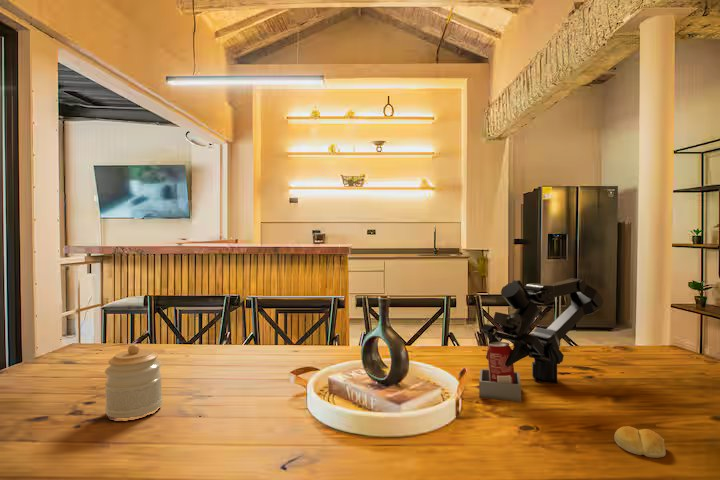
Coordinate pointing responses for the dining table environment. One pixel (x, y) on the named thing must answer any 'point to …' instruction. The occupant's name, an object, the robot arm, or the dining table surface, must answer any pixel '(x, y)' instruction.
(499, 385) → the grey crate
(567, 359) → the dining table surface
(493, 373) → the soda can
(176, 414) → the dining table surface
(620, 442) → the bread roll
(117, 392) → the jar
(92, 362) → the dining table surface
